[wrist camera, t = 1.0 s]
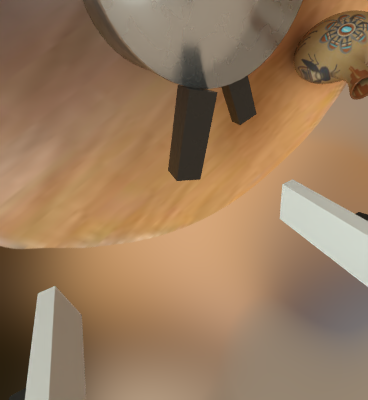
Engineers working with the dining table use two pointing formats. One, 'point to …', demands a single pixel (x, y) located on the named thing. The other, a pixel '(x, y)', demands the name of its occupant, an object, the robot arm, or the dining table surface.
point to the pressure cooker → (234, 93)
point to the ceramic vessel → (336, 52)
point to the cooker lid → (199, 56)
